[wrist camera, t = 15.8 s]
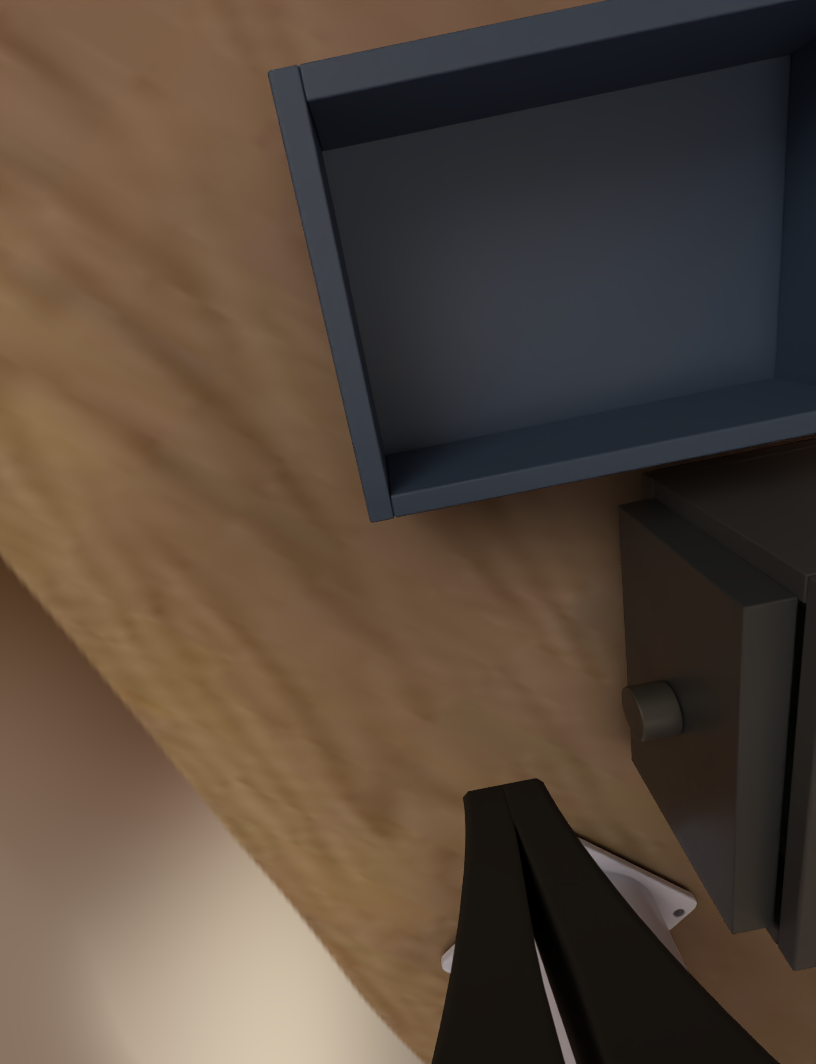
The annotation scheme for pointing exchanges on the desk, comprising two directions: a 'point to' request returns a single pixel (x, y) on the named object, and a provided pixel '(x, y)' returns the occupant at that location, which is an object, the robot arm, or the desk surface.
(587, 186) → the box
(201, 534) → the desk surface
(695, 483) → the cabinet
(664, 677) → the drawer
